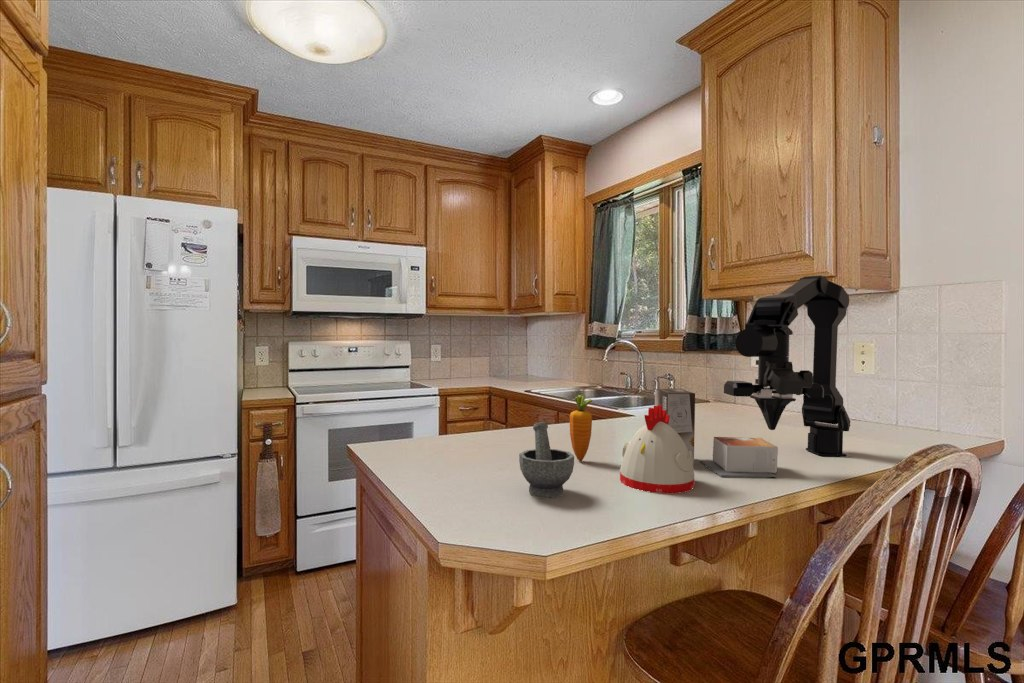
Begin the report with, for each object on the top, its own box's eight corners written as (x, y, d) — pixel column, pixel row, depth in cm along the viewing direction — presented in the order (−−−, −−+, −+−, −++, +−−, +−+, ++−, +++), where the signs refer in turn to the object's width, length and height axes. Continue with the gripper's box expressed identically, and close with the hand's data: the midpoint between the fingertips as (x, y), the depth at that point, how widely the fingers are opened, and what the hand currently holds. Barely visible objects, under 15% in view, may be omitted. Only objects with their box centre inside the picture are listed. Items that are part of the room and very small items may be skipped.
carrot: (579, 457, 120) (580, 392, 120) (596, 462, 116) (597, 394, 116) (564, 460, 117) (565, 394, 116) (580, 465, 113) (581, 396, 113)
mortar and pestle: (579, 500, 90) (580, 431, 89) (526, 503, 88) (526, 432, 88) (561, 481, 101) (562, 419, 101) (514, 483, 99) (514, 420, 99)
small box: (779, 446, 107) (727, 445, 107) (777, 473, 107) (726, 472, 107) (760, 437, 115) (712, 436, 115) (759, 462, 115) (711, 461, 115)
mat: (749, 462, 117) (749, 460, 117) (775, 477, 105) (775, 475, 105) (699, 462, 117) (699, 460, 117) (720, 477, 105) (720, 475, 105)
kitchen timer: (606, 481, 101) (607, 404, 101) (643, 468, 111) (644, 398, 111) (672, 498, 91) (674, 413, 91) (706, 483, 101) (708, 406, 101)
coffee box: (695, 467, 113) (696, 393, 112) (666, 467, 112) (667, 392, 112) (679, 456, 122) (680, 388, 122) (652, 456, 122) (653, 388, 121)
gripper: (746, 357, 102) (744, 436, 103) (841, 358, 102) (839, 438, 103) (723, 354, 114) (721, 426, 114) (809, 356, 113) (807, 427, 114)
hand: (771, 429), depth 111 cm, fingers closed
